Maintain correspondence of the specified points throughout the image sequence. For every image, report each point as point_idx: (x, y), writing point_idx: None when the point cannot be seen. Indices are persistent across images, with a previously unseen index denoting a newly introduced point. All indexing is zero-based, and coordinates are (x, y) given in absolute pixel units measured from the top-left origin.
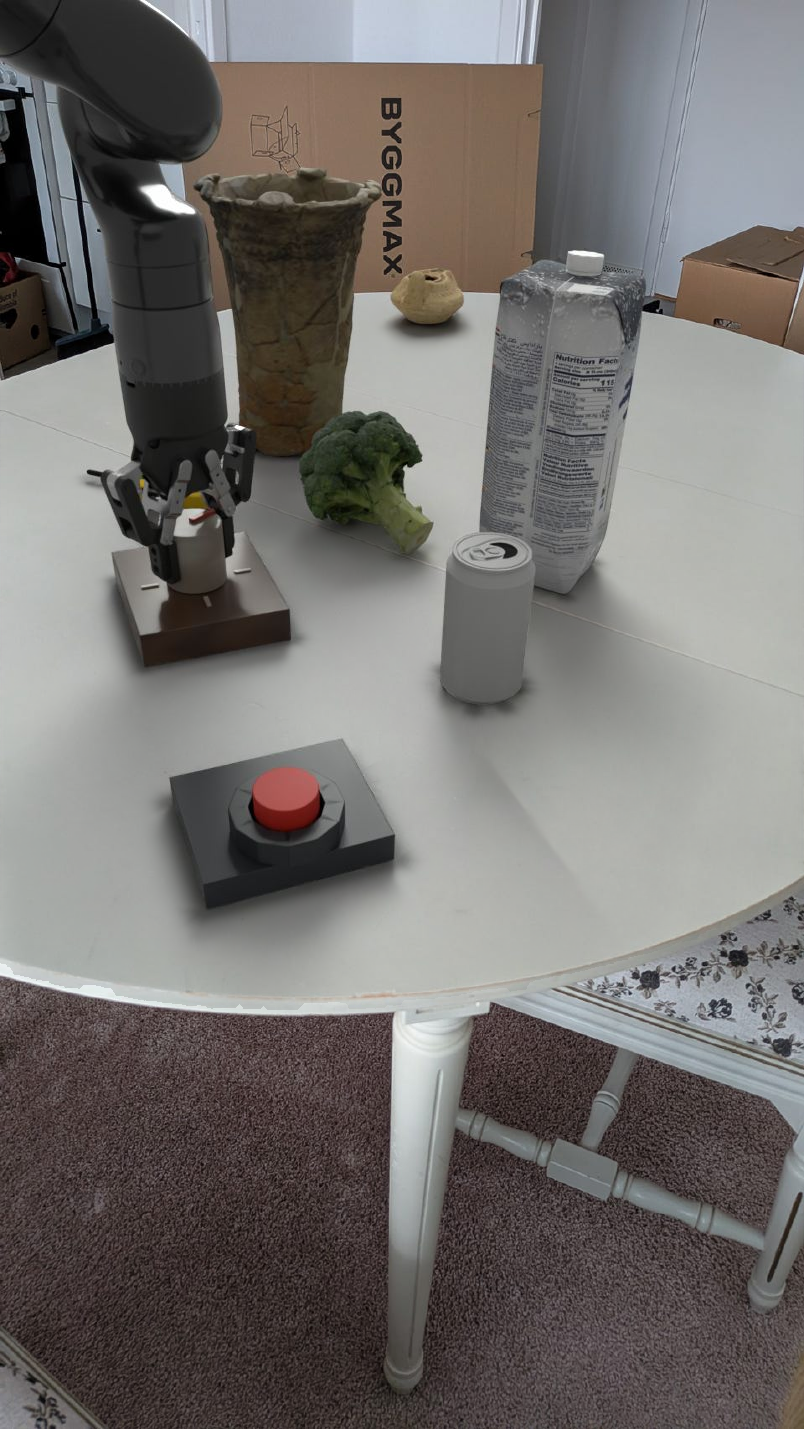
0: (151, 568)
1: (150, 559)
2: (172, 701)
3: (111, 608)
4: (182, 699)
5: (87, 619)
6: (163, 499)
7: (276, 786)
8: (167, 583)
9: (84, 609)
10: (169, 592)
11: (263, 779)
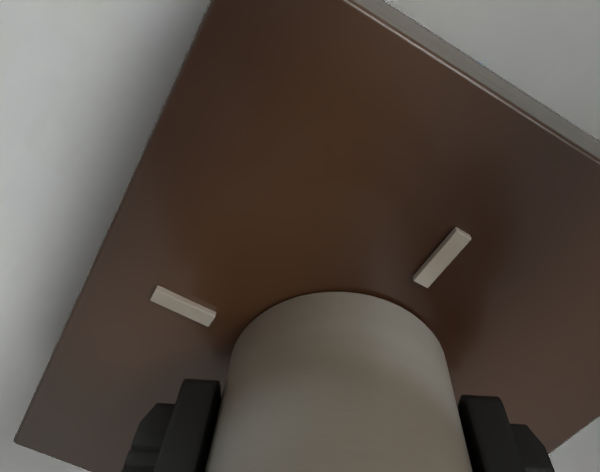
0: (137, 430)
1: (124, 468)
2: (52, 458)
3: (136, 82)
4: (72, 466)
5: (32, 76)
6: None
7: None
8: (236, 342)
9: (51, 8)
10: (211, 368)
11: None
